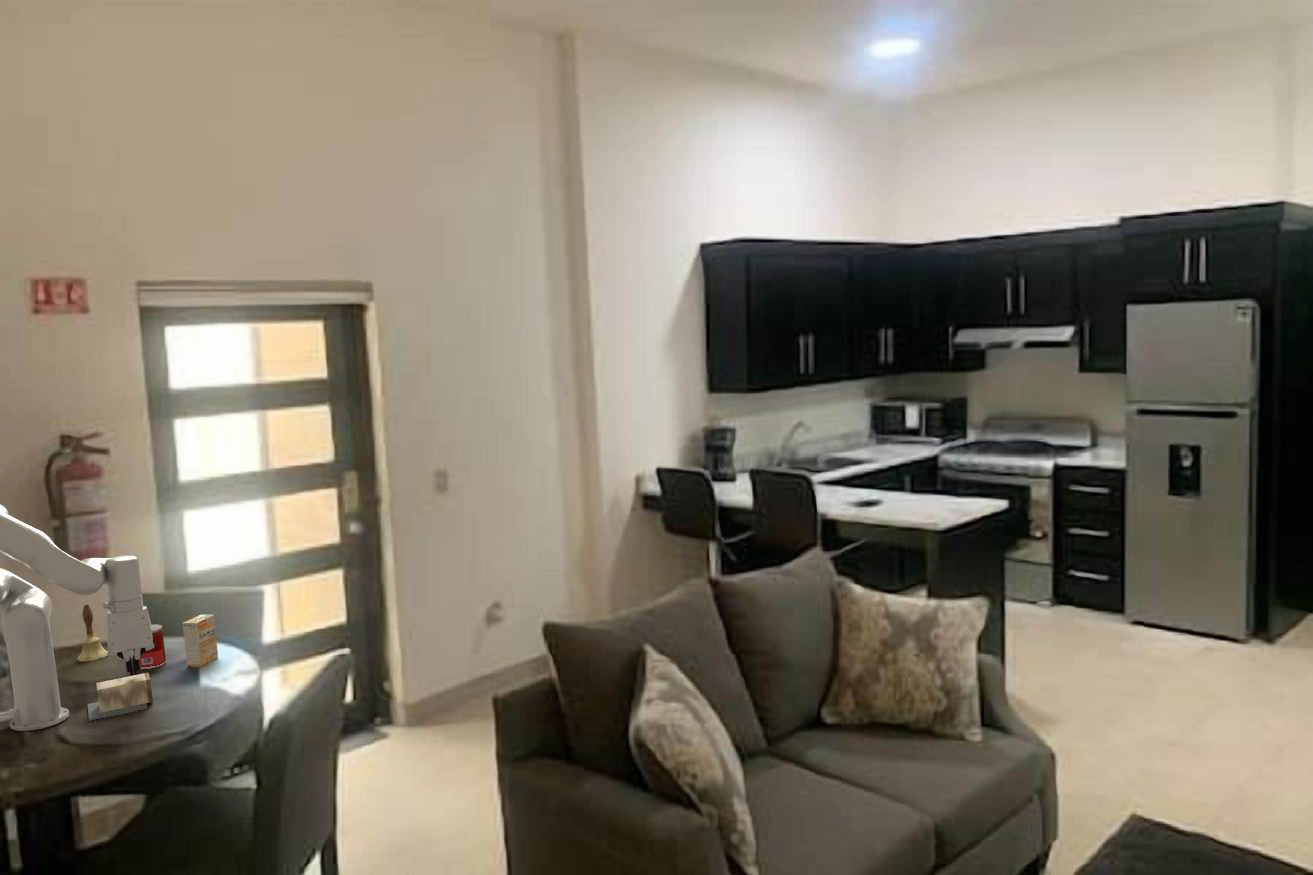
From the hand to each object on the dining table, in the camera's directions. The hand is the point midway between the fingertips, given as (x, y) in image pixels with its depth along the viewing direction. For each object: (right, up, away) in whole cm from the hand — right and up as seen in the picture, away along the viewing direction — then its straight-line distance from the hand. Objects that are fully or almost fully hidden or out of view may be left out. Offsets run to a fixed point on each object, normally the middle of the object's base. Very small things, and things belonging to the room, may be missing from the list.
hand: (133, 673), depth 262 cm
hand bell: (-33, -5, +41) cm, 52 cm away
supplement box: (+4, -4, +31) cm, 31 cm away
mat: (-4, -8, -1) cm, 9 cm away
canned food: (-11, -5, +30) cm, 33 cm away
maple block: (+3, -4, +2) cm, 6 cm away
